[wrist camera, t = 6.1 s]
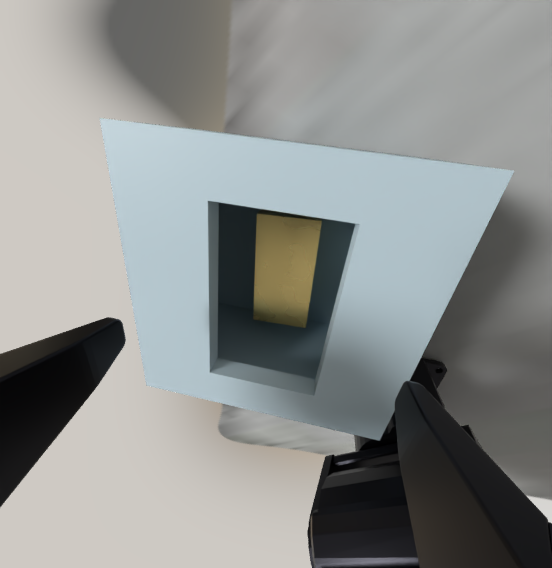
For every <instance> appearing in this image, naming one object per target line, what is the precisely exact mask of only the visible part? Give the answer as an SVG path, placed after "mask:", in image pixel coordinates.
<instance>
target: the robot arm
mask: <svg viewBox="0 0 552 568" xmlns="http://www.w3.org/2000/svg"><path fill="white" fill-rule="evenodd" d="M125 340H126V339H125V333H124V329H123V324H122V322H121V321H120V320H119V319H115V318H109V317H108V318H104V319H101V320H98V321H95V322H92V323H90V324H87V325H84V326H81V327H78V328H75V329H72V330H69V331H66V332H63V333H60V334H57V335H54V336H52V337H49V338H46V339H43V340H40V341H37V342H34V343H31V344H28V345H25V346H22V347H20V348H17V349H14V350H11V351H8V352H5V353H2V354H0V507H1V506H2V505H3V503H4V502H5V501H6V499H7V498H8V497H9V496H10V495H11V493H12V492H13V491H14V490H15V488H16V487H17V486H18V485H19V483H20V482H21V481H22V479H23V478H24V477H25V476H26V475H27V473H28V472H29V471H30V470H31V468H32V467H33V466H34V465H35V463H36V462H37V461H38V460H39V458H40V457H41V456H42V455H43V453H44V452H45V451H46V450H47V448H48V447H49V446H50V445H51V444H52V442H53V441H54V440H55V439H56V437H57V436H58V435H59V434H60V432H61V431H62V430H63V429H64V427H65V426H66V425H67V424H68V422H69V421H70V420H71V419H72V417H73V416H74V415H75V414H76V412H77V411H78V410H79V409H80V407H81V406H82V405H83V404H84V402H85V401H86V400H87V399H88V397H89V396H90V395H91V394H92V392H93V391H94V390H95V388H96V387H97V386H98V384H99V383H100V381H101V380H102V378H103V377H104V375H105V374H106V372H107V371H108V369H109V368H110V366H111V365H112V363H113V362H114V360H115V358H116V357H117V356H118V354H119V353H120V351H121V350H122V348H123V346H124V344H125ZM438 368H440V369H438ZM446 372H447V369H446V367H445V365H444V364H443V363H442V362H439V361H434V360H429V359H424V358H421V359H420V361H419V363H418V365H417V367H416V369H415V371H414V373H413V375H412V377H411V379H410V381H405V382H404V383H403V385H402V387H401V389H400V391H399V393H398V395H397V397H396V399H395V411H394V413H393V415H392V417H391V419H390V421H389V423H388V425H387V427H386V429H385V431H384V433H383V435H382V437H381V439H380V441H379V440H374V439H370V438H366V437H362V436H358V435H354V436H355V448H356V451H355V452H351V453H346V454H341V455H337V456H335V455H329V456H326V457H325V460H324V464H323V468H322V471H321V475H320V479H319V483H318V487H317V491H316V495H315V499H314V502H313V507H312V510H311V514H310V519H309V527H308V541H309V542H308V544H309V553H310V561H311V565H312V568H552V523H549V522H548V519H547V518H546V517H545V516H544V515H543V513H542V512H541V511H540V510H539V509H538V508H537V507H536V506H535V505H534V504H533V503H532V502H531V501H530V500H529V499H528V497H527V496H526V495H525V494H524V493H523V492H522V491H521V490H520V489H519V488H518V487H517V486H516V485H515V484H514V483H513V481H512V480H511V479H510V478H509V477H508V476H507V475H506V474H505V473H504V472H503V471H502V470H501V469H500V468H499V467H498V465H497V464H496V463H495V462H494V461H493V460H492V459H491V458H490V457H489V456H488V455H487V454H486V453H485V452H484V450H483V449H482V447H481V445H480V444H479V442H478V440H477V439H476V437H475V435H474V434H473V432H472V430H471V428H470V427H469V425H465V426H460V425H459V424H458V423H457V422H456V421H455V420H454V418H453V417H452V416H451V415H450V414H449V413H448V412H447V411H446V410H445V409H444V404H443V402H442V400H441V397H440V395H439V393H438V390H437V388H438V386H439V384H440V382H441V381H442V379H443V377H444V376H445V374H446Z"/></svg>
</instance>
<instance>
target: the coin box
mask: <svg viewBox="0 0 552 568" xmlns="http://www.w3.org/2000/svg"><path fill="white" fill-rule="evenodd" d="M100 123H101V129H102V134H103V140H104V146H105V152H106V157H107V163H108V169H109V174H110V180H111V186H112V191H113V197H114V203H115V209H116V214H117V220H118V226H119V231H120V237H121V242H122V249H123V254H124V260H125V265H126V271H127V277H128V283H129V288H130V294H131V300H132V306H133V311H134V317H135V323H136V328H137V334H138V340H139V345H140V351H141V357H142V363H143V368H144V374H145V380H146V385H147V386H151V387H155V388H159V389H164V390H168V391H172V392H176V393H180V394H185V395H189V396H193V397H197V398H202V399H207V400H210V401H214V402H219V403H223V404H227V405H231V406H235V407H240V408H244V409H248V410H252V411H256V412H261V413H265V414H269V415H273V416H277V417H282V418H286V419H290V420H294V421H299V422H303V423H307V424H311V425H315V426H320V427H324V428H328V429H332V430H336V431H341V432H345V433H349V434H353V435H358V436H362V437H366V438H370V439H374V440H379V441H380V439H381V437H382V435H383V433H384V431H385V429H386V427H387V425H388V423H389V421H390V419H391V417H392V415H393V413H394V411H395V399H396V397H397V395H398V393H399V391H400V389H401V387H402V385H403V383H404V382H405V381H410V379H411V377H412V375H413V373H414V371H415V369H416V367H417V365H418V363H419V361H420V359H421V357H422V355H423V353H424V351H425V349H426V347H427V345H428V343H429V341H430V339H431V337H432V335H433V333H434V331H435V329H436V327H437V325H438V323H439V321H440V319H441V317H442V315H443V313H444V311H445V309H446V307H447V305H448V303H449V301H450V299H451V297H452V295H453V293H454V291H455V289H456V287H457V285H458V283H459V281H460V279H461V277H462V275H463V273H464V271H465V269H466V267H467V265H468V263H469V261H470V259H471V257H472V255H473V253H474V251H475V249H476V247H477V245H478V243H479V241H480V239H481V237H482V235H483V233H484V231H485V229H486V227H487V225H488V223H489V221H490V219H491V217H492V215H493V213H494V211H495V209H496V207H497V205H498V203H499V201H500V199H501V197H502V195H503V193H504V191H505V189H506V187H507V185H508V183H509V181H510V179H511V177H512V175H513V173H514V171H512V170H505V169H498V168H491V167H484V166H476V165H469V164H462V163H455V162H448V161H441V160H434V159H427V158H419V157H411V156H404V155H396V154H388V153H380V152H372V151H364V150H356V149H348V148H341V147H333V146H325V145H317V144H309V143H301V142H293V141H286V140H278V139H270V138H262V137H254V136H246V135H238V134H230V133H223V132H215V131H207V130H198V129H190V128H181V127H173V126H164V125H156V124H147V123H138V122H130V121H121V120H112V119H104V118H100ZM261 209H265V210H271V211H278V212H284V213H291V214H297V215H304V216H310V217H316V218H322V224H321V230H320V237H319V244H318V250H317V257H316V264H315V270H314V277H313V283H312V290H311V297H310V303H309V310H308V317H307V323H306V328H302V327H296V326H290V325H284V324H278V323H271V322H265V321H259V320H253V311H254V282H255V252H256V223H257V213H258V212H259V211H260V210H261Z"/></svg>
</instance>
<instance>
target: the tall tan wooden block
mask: <svg viewBox="0 0 552 568" xmlns="http://www.w3.org/2000/svg"><path fill="white" fill-rule="evenodd" d="M321 224H322V218H316V217H310V216H304V215H297V214H291V213H284V212H278V211H271V210H265V209H261V210H260V211H259V212H258V213H257V223H256V252H255V282H254V311H253V320H259V321H265V322H271V323H278V324H284V325H290V326H296V327H302V328H306V323H307V317H308V310H309V303H310V297H311V290H312V283H313V277H314V270H315V264H316V257H317V250H318V244H319V237H320V230H321Z"/></svg>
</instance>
